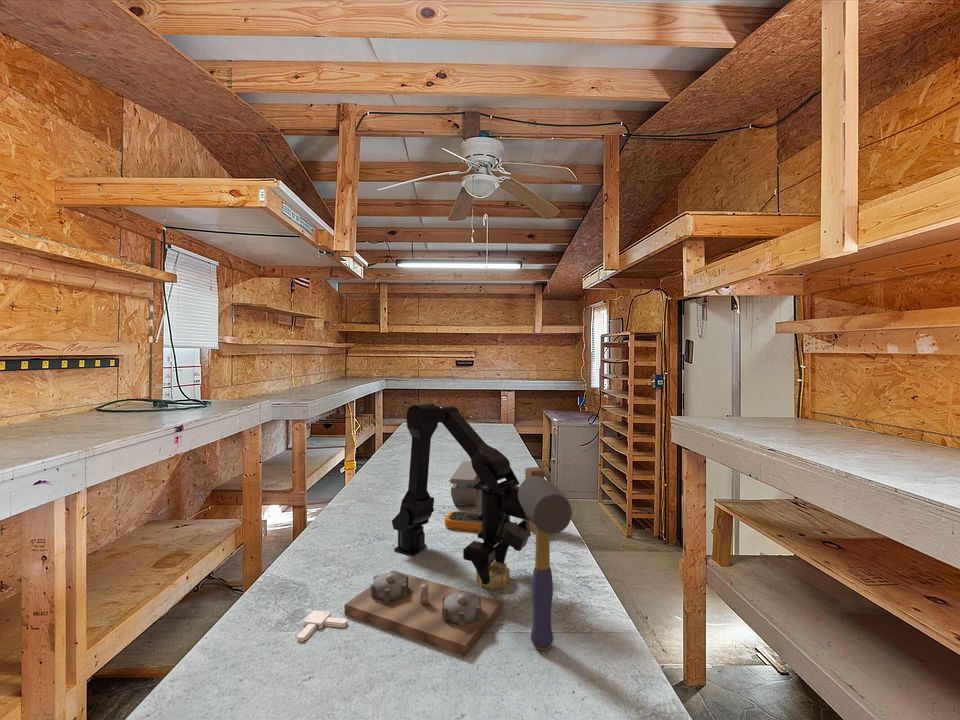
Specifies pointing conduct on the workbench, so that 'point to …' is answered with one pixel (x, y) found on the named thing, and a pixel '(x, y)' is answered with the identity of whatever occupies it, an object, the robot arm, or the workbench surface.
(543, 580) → the rubber mallet
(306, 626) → the corner connector
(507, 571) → the brass gear
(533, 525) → the wooden block
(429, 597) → the gear board
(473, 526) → the multimeter
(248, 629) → the workbench surface
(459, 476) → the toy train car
